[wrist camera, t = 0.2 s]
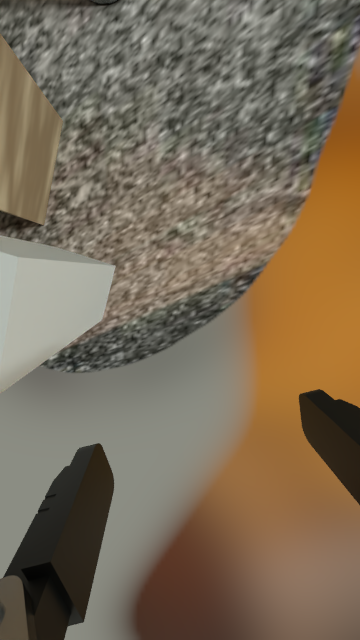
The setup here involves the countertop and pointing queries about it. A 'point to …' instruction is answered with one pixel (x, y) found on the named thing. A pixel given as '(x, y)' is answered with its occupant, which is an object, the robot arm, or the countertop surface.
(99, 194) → the countertop surface
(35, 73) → the countertop surface
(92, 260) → the grey block
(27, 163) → the oak stand
